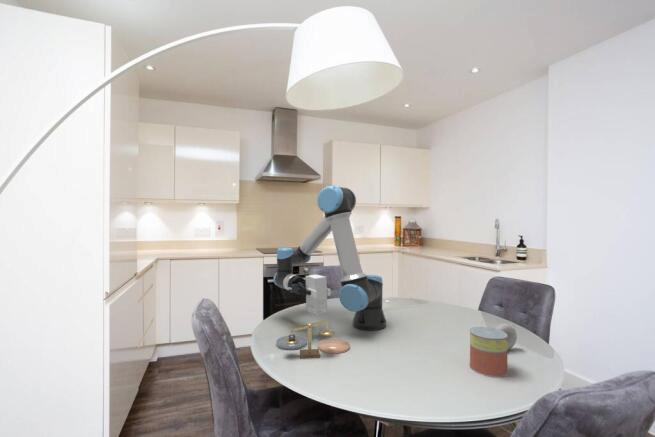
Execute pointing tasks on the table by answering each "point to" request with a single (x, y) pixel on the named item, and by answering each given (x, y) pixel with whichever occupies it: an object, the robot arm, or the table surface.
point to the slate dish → (282, 345)
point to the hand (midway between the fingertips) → (323, 293)
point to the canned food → (488, 351)
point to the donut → (511, 334)
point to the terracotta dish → (333, 346)
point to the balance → (308, 352)
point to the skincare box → (320, 286)
